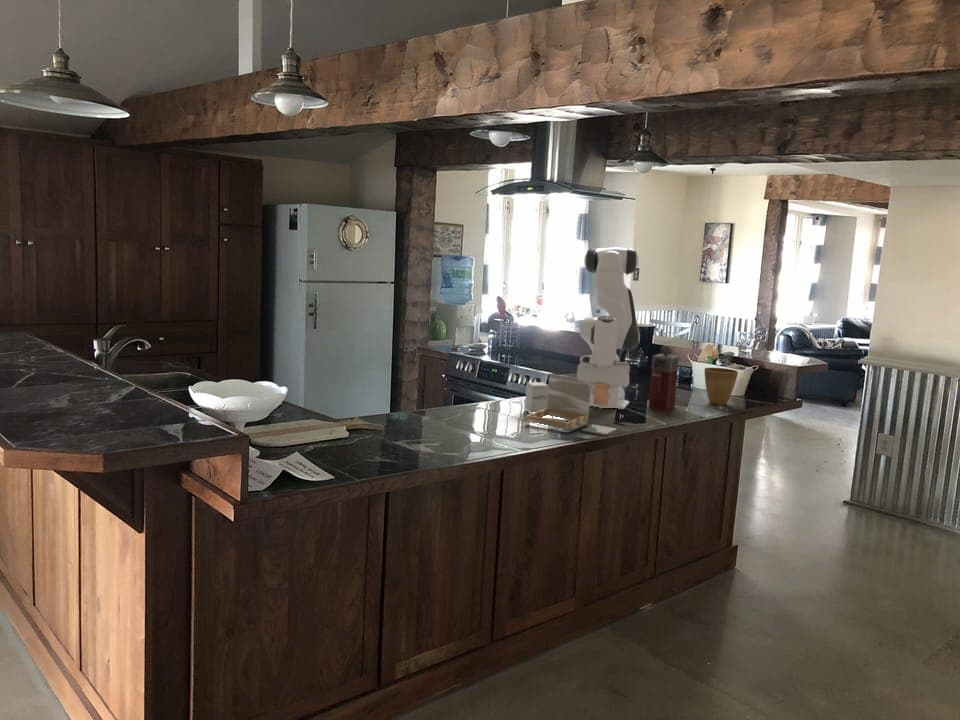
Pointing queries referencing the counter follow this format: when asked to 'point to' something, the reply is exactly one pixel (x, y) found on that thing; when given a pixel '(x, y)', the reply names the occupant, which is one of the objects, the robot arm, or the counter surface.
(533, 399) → the supplement box
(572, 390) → the cold frame
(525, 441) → the counter surface
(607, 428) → the stone paver
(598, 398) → the terracotta pot
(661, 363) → the red liquid bottle
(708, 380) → the plant pot
